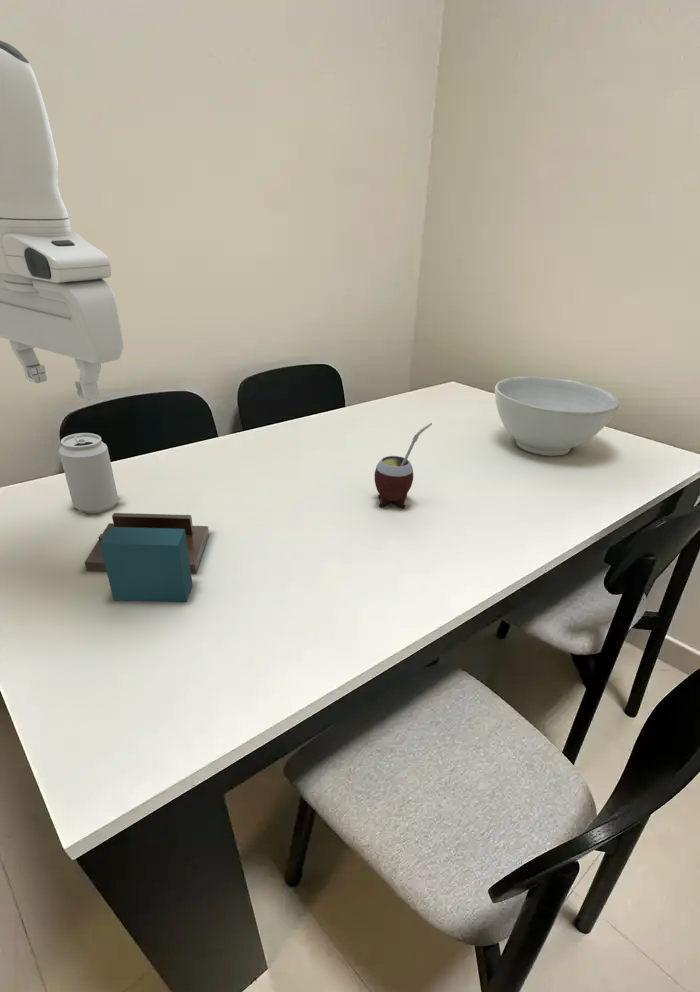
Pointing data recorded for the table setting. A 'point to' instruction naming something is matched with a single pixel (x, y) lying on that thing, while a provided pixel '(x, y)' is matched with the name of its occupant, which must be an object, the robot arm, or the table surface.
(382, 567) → the table surface
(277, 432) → the table surface
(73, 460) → the can
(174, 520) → the board
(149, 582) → the back pad
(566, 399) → the decorative bowl
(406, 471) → the mate gourd
